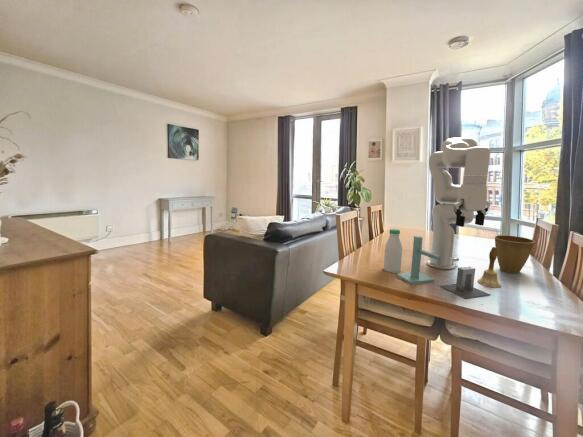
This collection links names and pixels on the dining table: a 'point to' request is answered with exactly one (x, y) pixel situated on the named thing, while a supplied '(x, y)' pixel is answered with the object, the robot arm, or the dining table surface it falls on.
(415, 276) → the stand
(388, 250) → the milk bottle
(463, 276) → the link
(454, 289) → the mat
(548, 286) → the dining table surface
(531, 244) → the plant pot
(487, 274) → the hand bell
